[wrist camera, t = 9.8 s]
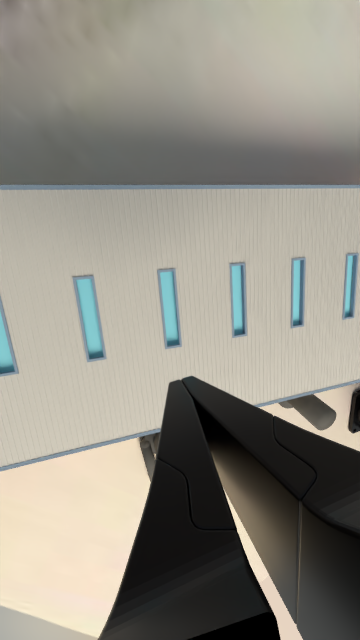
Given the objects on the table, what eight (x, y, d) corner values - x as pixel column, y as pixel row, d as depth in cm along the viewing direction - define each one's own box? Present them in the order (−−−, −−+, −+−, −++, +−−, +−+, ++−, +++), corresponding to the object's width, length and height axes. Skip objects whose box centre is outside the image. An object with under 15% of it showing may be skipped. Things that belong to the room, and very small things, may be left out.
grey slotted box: (349, 196, 23) (456, 178, 16) (326, 338, 27) (399, 372, 20) (-26, 202, 15) (-135, 173, 8) (31, 393, 20) (-9, 473, 13)
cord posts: (336, 408, 31) (375, 438, 27) (150, 479, 26) (159, 530, 22) (341, 358, 28) (385, 381, 24) (135, 426, 24) (141, 471, 19)
